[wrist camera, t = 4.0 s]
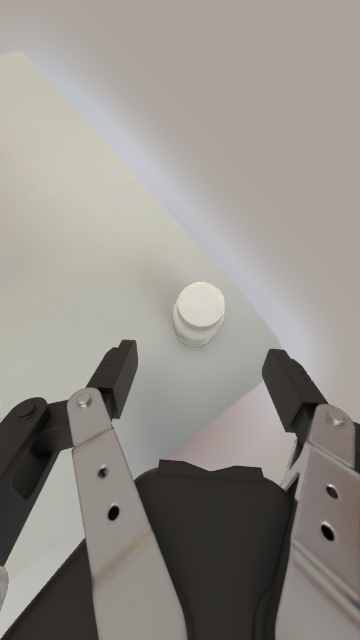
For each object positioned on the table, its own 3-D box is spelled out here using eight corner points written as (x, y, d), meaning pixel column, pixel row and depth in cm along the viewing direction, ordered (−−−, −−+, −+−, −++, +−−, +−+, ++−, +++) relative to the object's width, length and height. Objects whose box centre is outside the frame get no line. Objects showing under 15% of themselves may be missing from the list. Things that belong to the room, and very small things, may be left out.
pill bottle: (198, 300, 21) (206, 264, 14) (223, 330, 21) (245, 309, 13) (167, 322, 21) (157, 297, 13) (191, 355, 20) (195, 346, 12)
